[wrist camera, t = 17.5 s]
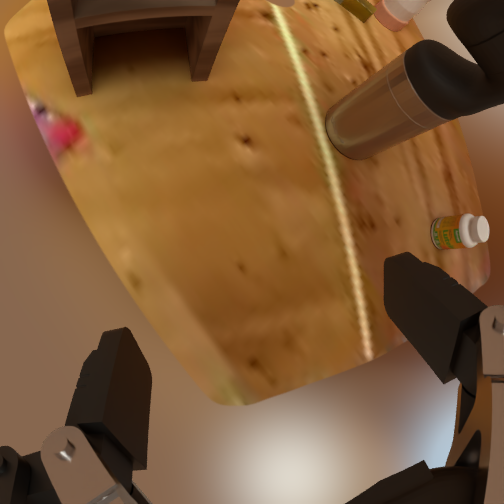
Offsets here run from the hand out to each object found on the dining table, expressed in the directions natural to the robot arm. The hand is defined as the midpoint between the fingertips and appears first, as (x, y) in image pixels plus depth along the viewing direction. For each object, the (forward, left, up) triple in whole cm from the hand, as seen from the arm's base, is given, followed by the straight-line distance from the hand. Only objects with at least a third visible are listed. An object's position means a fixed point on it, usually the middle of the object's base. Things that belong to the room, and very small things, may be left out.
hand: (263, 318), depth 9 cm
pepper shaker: (-54, -35, -28) cm, 70 cm away
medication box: (-43, -39, -28) cm, 64 cm away
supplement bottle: (-42, +9, -28) cm, 51 cm away
